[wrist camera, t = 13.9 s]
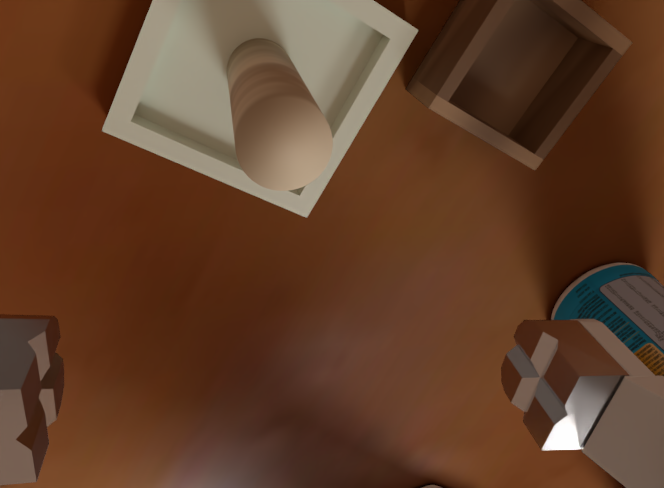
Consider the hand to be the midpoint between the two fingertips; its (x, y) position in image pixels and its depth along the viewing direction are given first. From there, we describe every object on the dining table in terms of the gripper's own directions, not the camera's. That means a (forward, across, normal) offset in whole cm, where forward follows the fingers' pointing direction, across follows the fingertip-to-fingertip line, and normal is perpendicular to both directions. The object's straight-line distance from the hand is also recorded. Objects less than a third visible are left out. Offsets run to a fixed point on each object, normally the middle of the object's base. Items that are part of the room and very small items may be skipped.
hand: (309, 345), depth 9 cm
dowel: (+19, -1, 0) cm, 19 cm away
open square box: (+20, -13, -2) cm, 24 cm away
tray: (+20, -1, 0) cm, 20 cm away
